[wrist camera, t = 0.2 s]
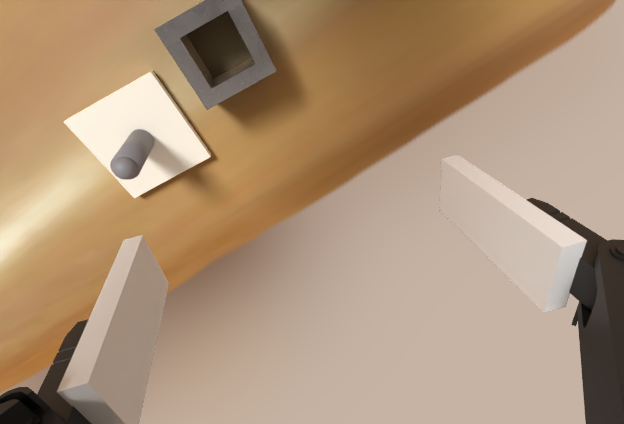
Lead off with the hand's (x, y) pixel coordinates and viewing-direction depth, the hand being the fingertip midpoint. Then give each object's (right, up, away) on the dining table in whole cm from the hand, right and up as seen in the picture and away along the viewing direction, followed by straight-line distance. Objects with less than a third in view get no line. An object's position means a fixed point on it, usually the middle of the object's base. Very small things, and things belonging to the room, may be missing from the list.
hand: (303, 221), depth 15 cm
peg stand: (-18, +8, +22) cm, 29 cm away
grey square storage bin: (-9, +17, +19) cm, 27 cm away
